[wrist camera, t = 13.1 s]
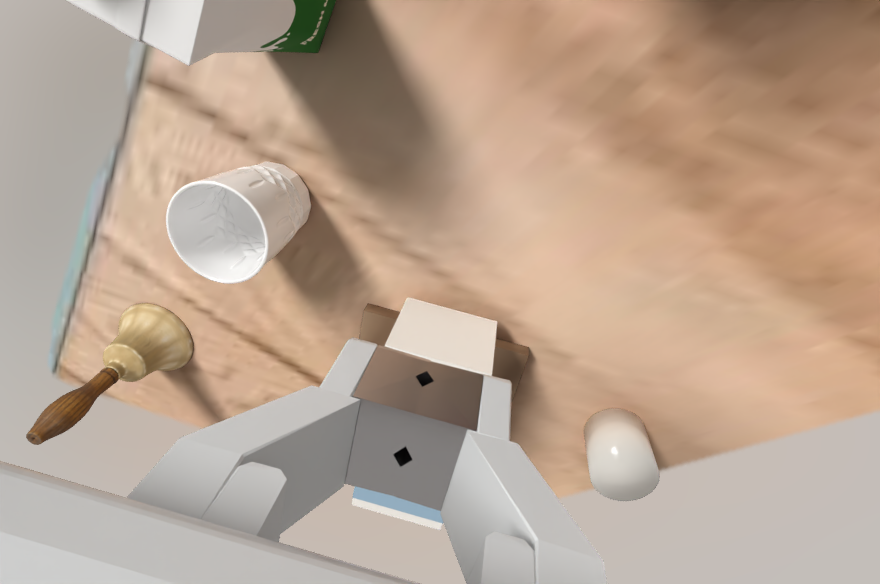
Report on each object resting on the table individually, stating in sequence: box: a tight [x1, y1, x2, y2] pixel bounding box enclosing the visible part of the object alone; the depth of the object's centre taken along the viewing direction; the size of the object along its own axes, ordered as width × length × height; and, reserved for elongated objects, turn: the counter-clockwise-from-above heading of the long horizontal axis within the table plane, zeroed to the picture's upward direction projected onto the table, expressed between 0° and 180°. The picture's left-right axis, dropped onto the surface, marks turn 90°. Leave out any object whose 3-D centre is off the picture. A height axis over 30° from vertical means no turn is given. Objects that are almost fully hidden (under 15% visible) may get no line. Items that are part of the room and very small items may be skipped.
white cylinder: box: [583, 408, 660, 501], centre depth 49 cm, size 6×6×6 cm
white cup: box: [166, 161, 311, 284], centre depth 42 cm, size 8×8×10 cm
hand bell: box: [26, 303, 193, 445], centre depth 48 cm, size 8×8×16 cm
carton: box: [352, 297, 497, 530], centre depth 47 cm, size 9×9×18 cm
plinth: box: [359, 304, 529, 403], centre depth 53 cm, size 16×18×2 cm
